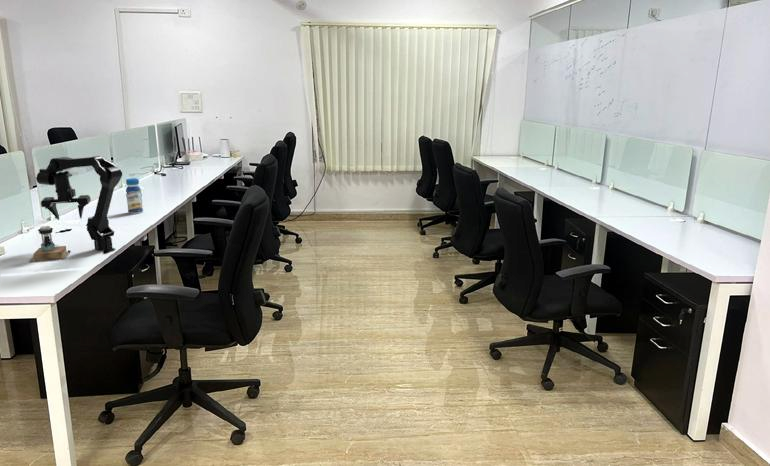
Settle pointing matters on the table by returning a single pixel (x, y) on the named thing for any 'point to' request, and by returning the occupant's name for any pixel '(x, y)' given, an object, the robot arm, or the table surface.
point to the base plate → (54, 259)
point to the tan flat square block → (50, 254)
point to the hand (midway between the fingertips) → (69, 218)
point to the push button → (46, 238)
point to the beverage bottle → (134, 196)
